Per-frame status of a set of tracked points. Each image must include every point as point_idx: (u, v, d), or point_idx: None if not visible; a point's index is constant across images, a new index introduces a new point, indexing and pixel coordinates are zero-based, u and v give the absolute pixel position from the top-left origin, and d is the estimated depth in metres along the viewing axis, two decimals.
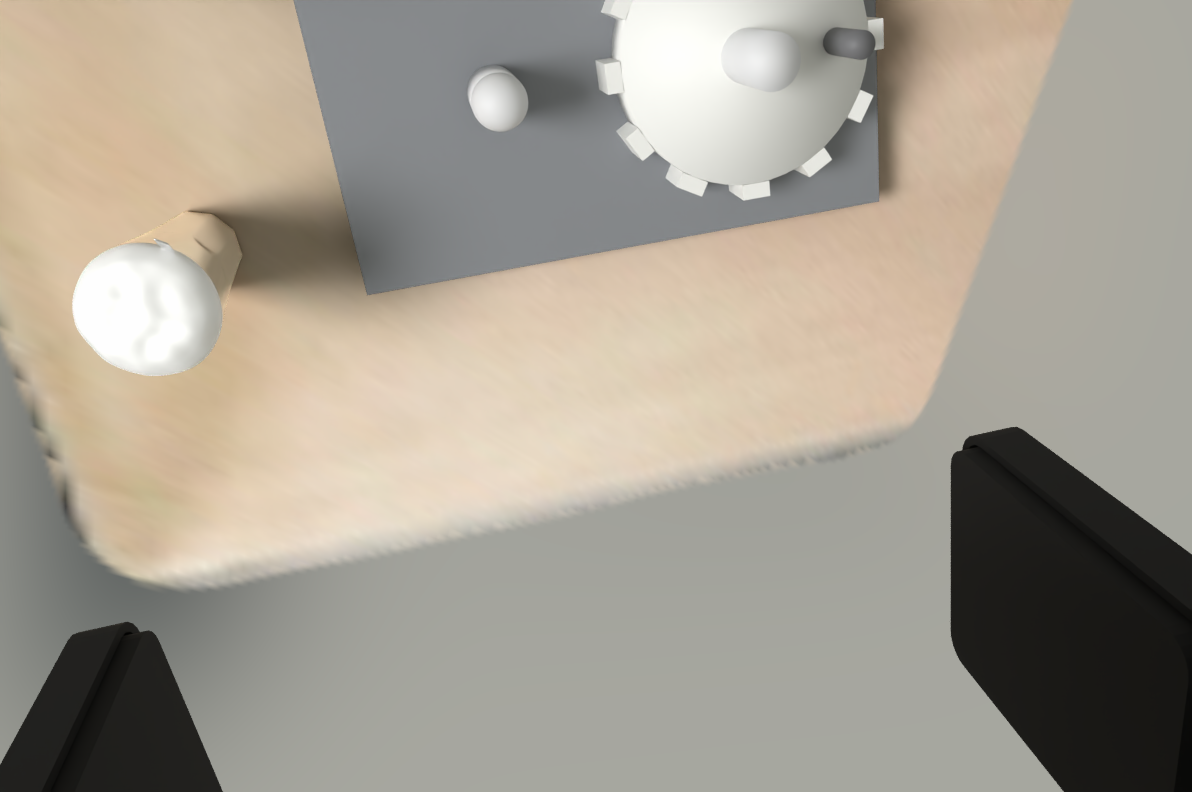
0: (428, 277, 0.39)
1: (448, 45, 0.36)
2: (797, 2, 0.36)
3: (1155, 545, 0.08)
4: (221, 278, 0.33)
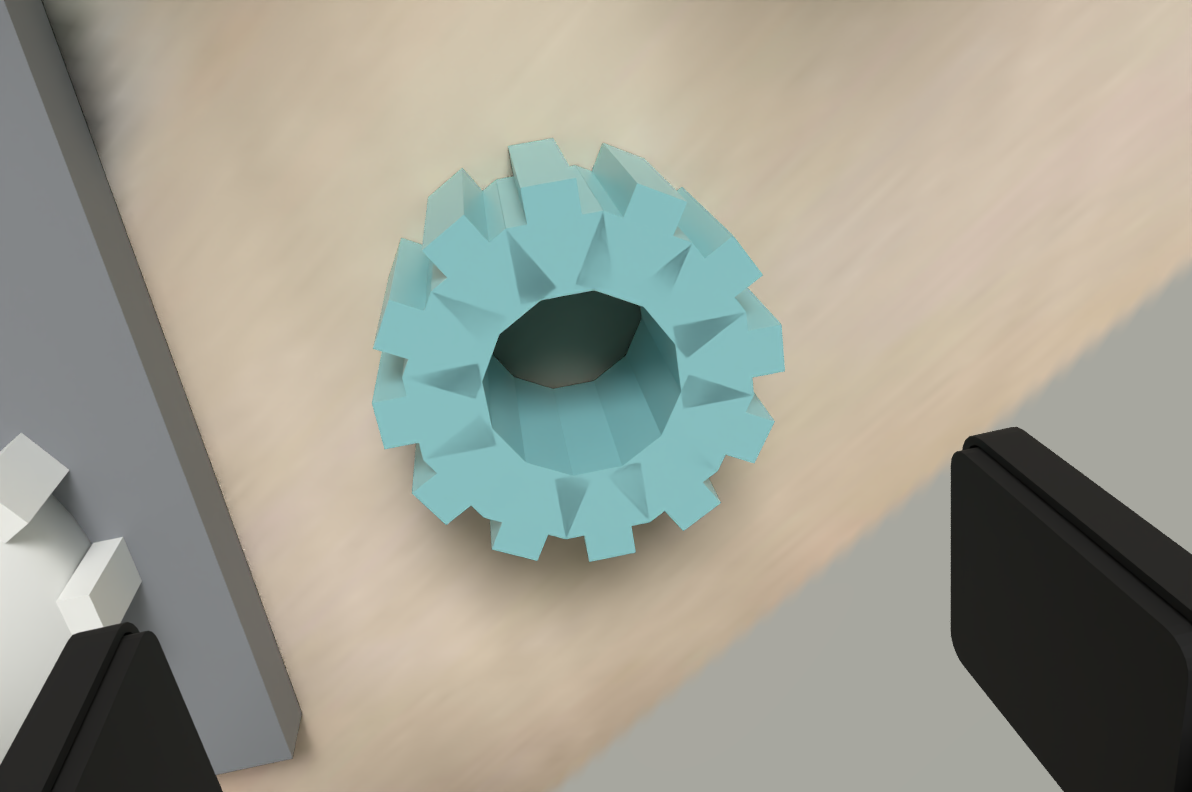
0: None
1: None
2: None
3: (1154, 545, 0.08)
4: None
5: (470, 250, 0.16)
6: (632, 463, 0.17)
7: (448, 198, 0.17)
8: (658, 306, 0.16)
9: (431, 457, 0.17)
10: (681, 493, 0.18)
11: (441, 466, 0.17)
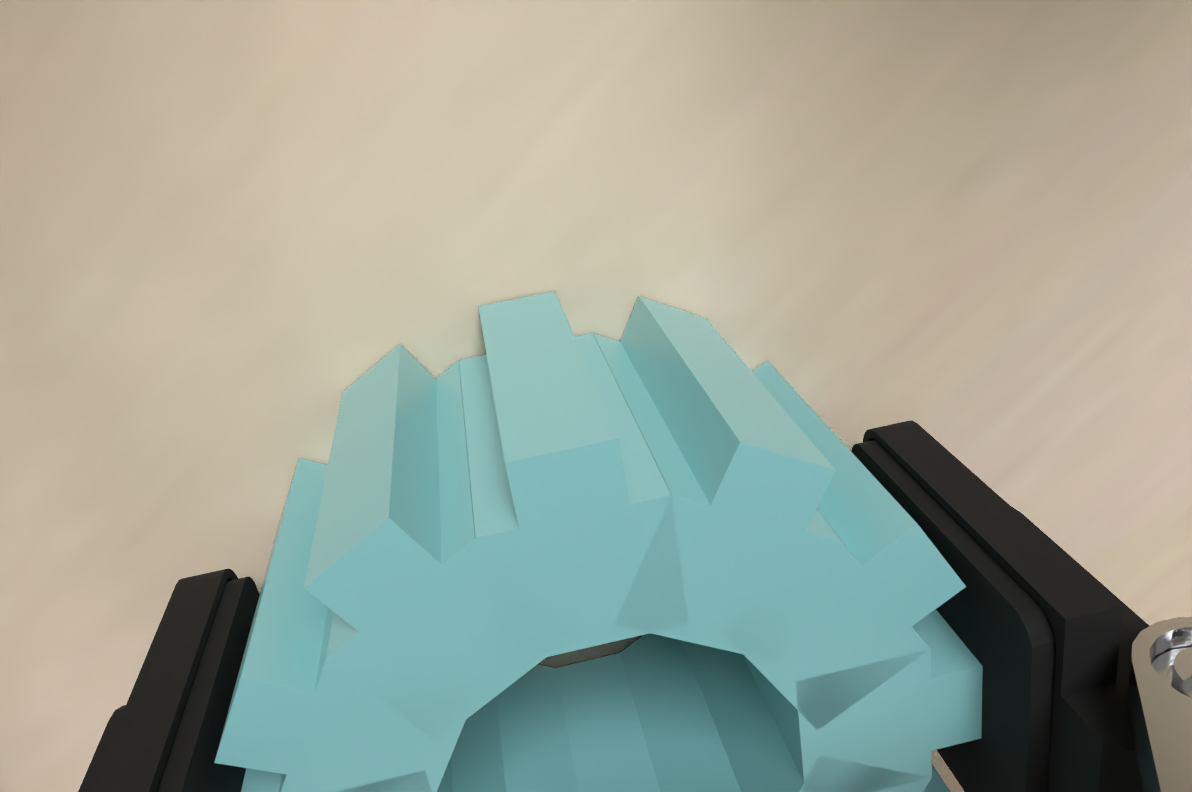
0: None
1: None
2: None
3: (1016, 530, 0.09)
4: None
5: (404, 580, 0.08)
6: None
7: (370, 425, 0.10)
8: (770, 652, 0.09)
9: None
10: None
11: None
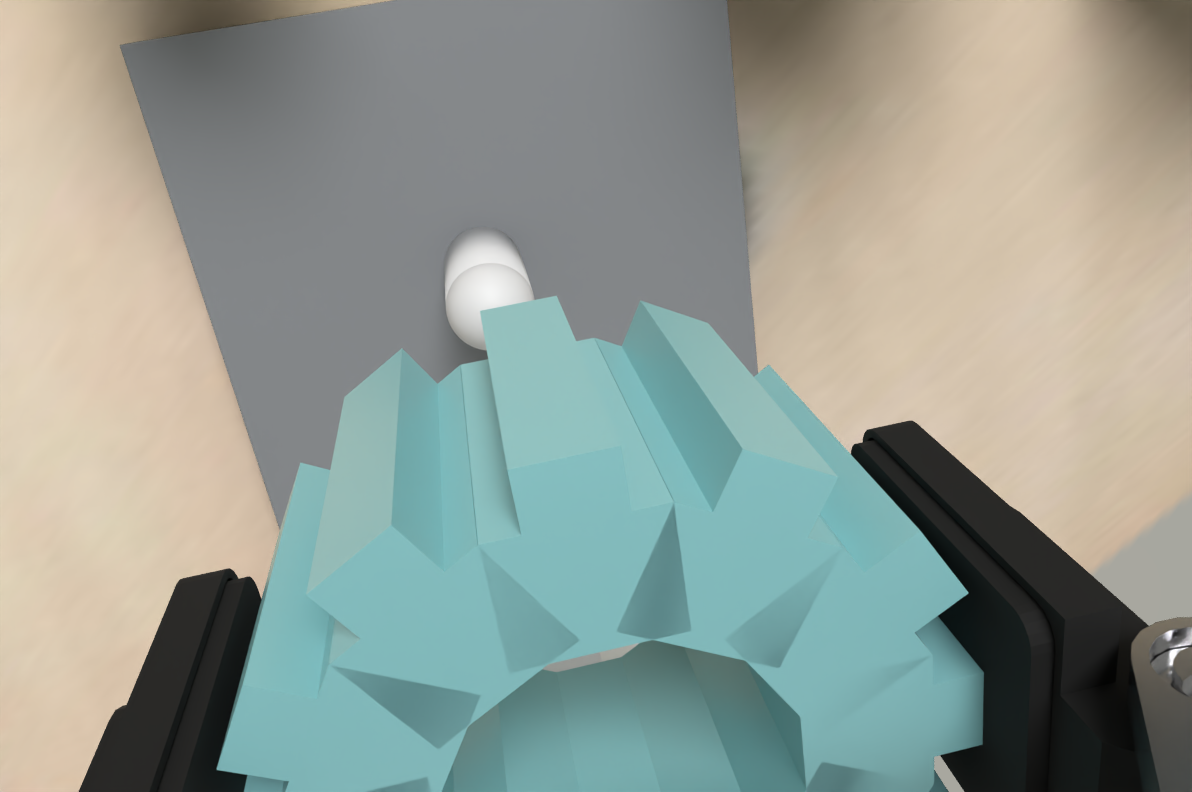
0: (169, 157, 0.23)
1: (547, 200, 0.24)
2: (617, 655, 0.28)
3: (1015, 531, 0.09)
4: None
5: (407, 588, 0.08)
6: None
7: (372, 431, 0.10)
8: (771, 658, 0.09)
9: None
10: None
11: None
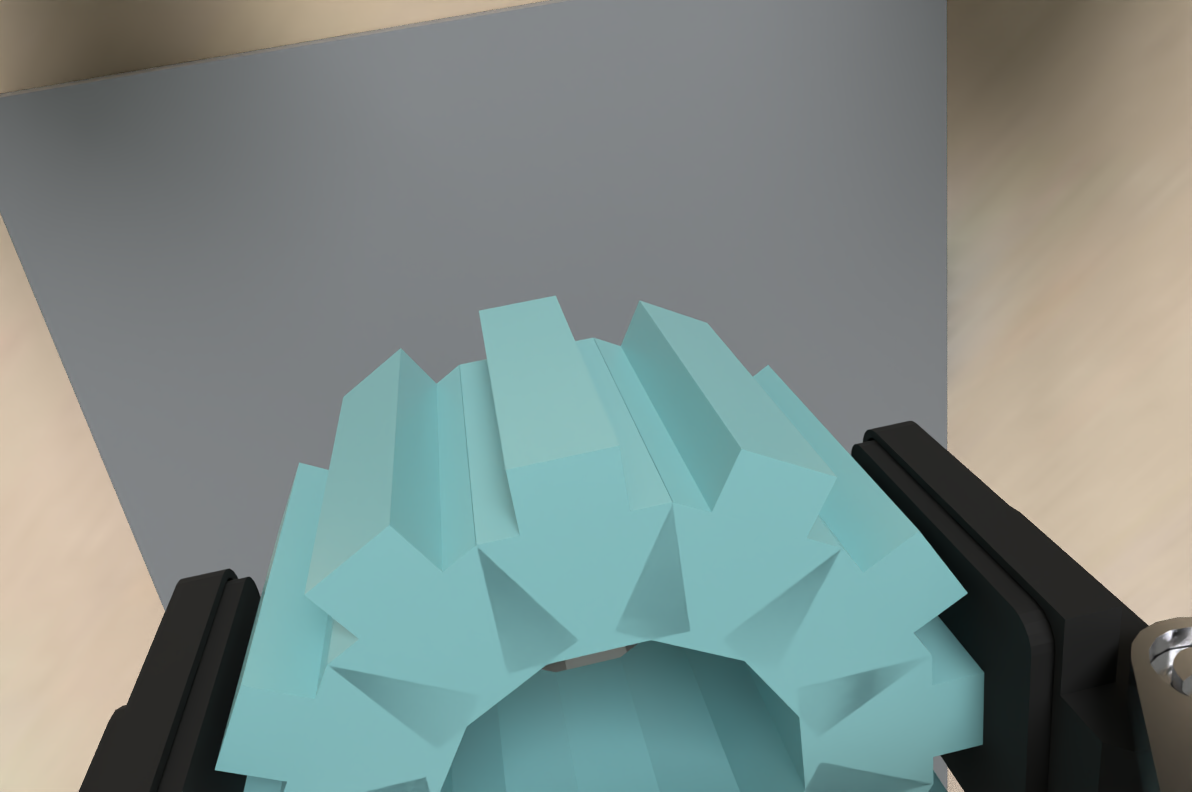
0: (49, 283, 0.14)
1: None
2: None
3: (1016, 531, 0.09)
4: None
5: (405, 588, 0.08)
6: None
7: (371, 431, 0.10)
8: (770, 658, 0.09)
9: None
10: None
11: None
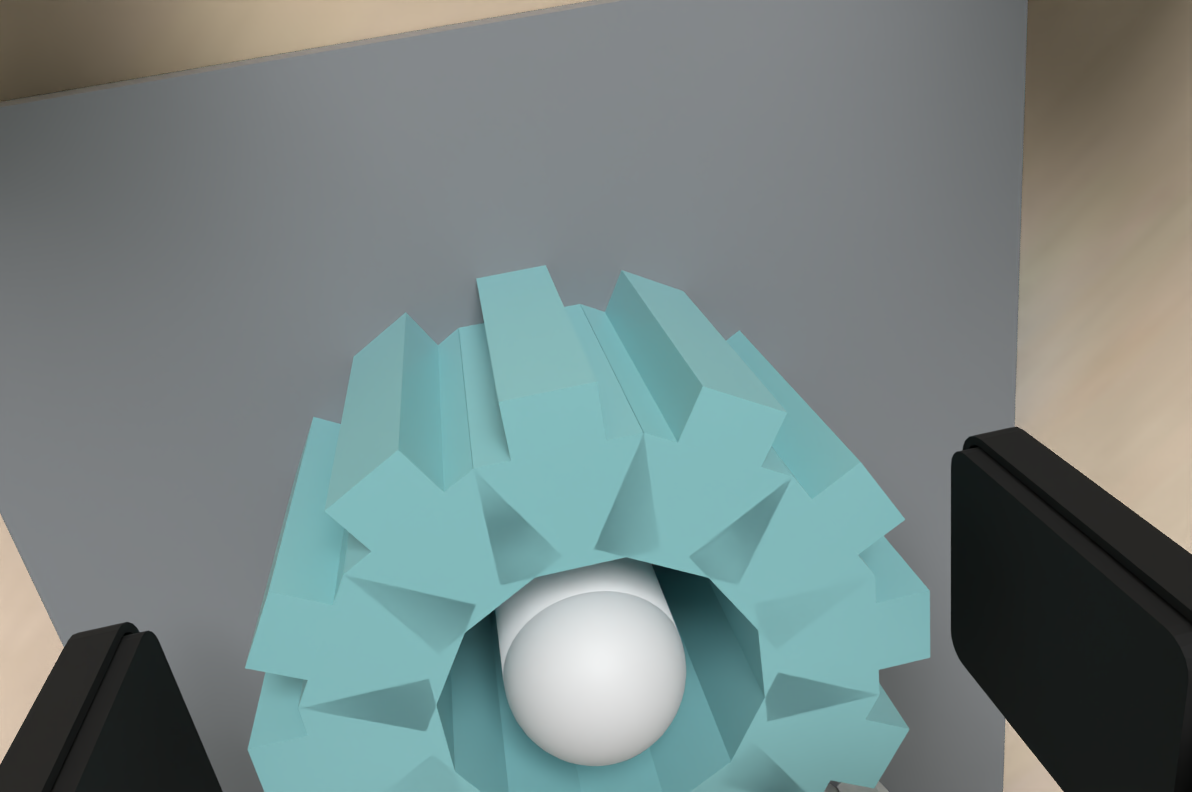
0: None
1: None
2: None
3: (1154, 545, 0.08)
4: None
5: (411, 506, 0.09)
6: None
7: (379, 380, 0.11)
8: (732, 575, 0.10)
9: None
10: None
11: None
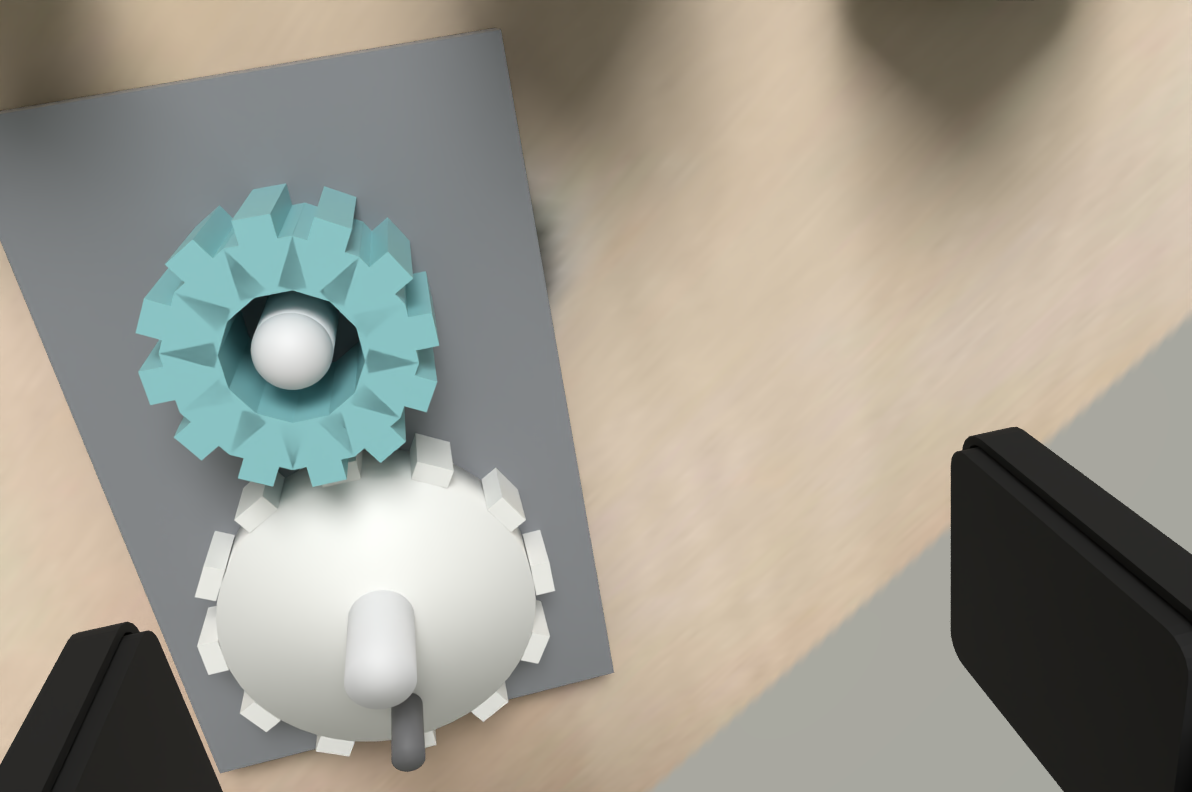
0: (3, 220, 0.25)
1: None
2: (446, 657, 0.31)
3: (1155, 545, 0.08)
4: None
5: (199, 263, 0.23)
6: (335, 413, 0.25)
7: (199, 228, 0.25)
8: (340, 301, 0.24)
9: (186, 411, 0.24)
10: (375, 435, 0.25)
11: (193, 417, 0.24)
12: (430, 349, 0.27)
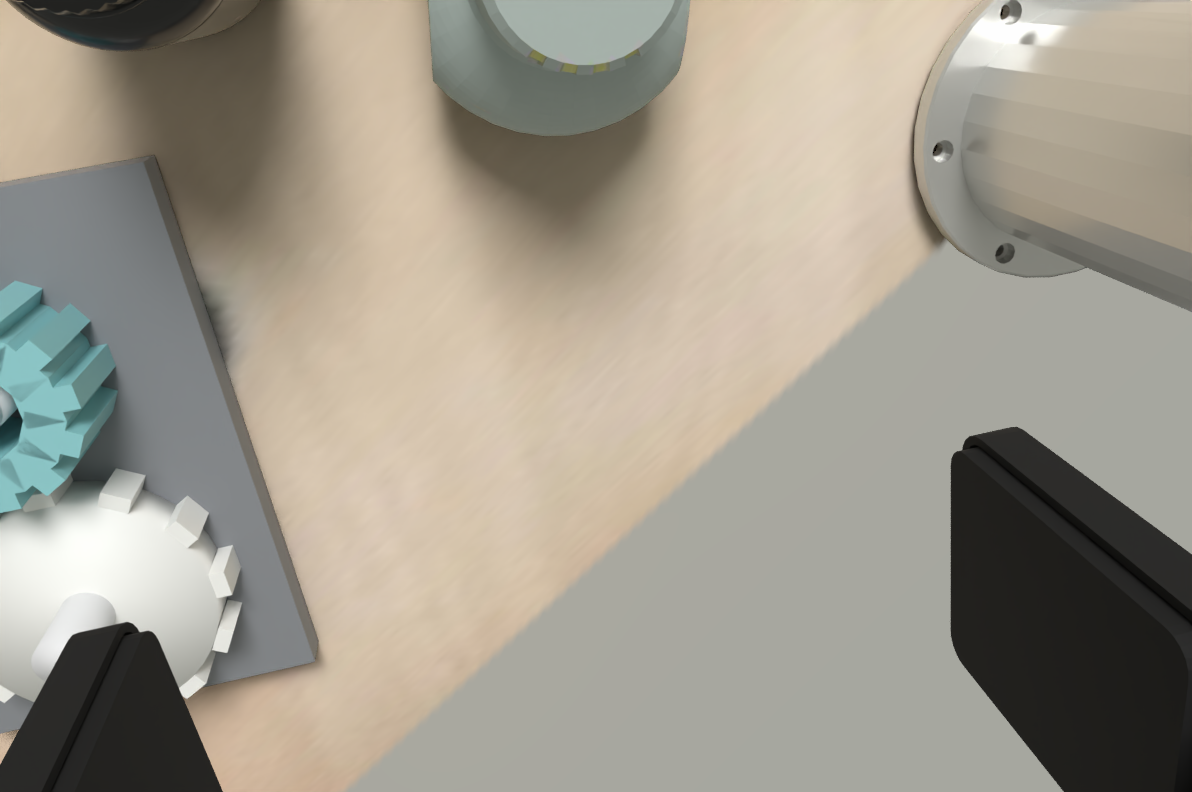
0: None
1: None
2: None
3: (1155, 545, 0.08)
4: None
5: None
6: (4, 459, 0.32)
7: None
8: None
9: None
10: (39, 475, 0.33)
11: None
12: (103, 406, 0.35)
